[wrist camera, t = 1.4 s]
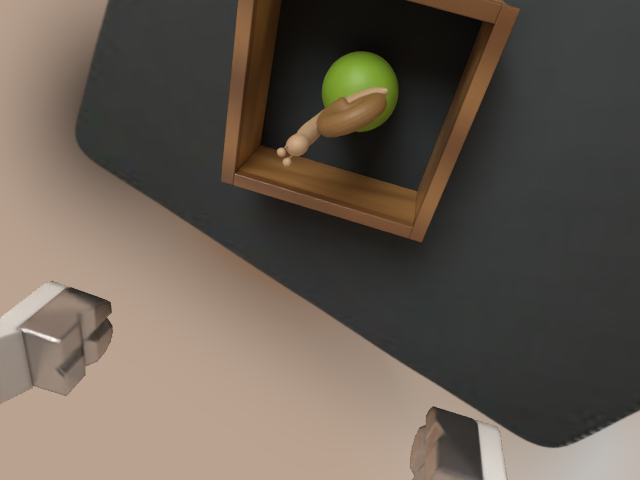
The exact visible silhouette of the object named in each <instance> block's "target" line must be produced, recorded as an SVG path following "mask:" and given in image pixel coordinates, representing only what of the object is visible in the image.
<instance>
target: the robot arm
mask: <svg viewBox="0 0 640 480" xmlns="http://www.w3.org/2000/svg"><path fill="white" fill-rule="evenodd" d="M111 312H112V311H111V302H109V301H107V300H105V299H102V298H100V297H97V296H94V295H91V294H88V293H85V292H83V291H80V290H77V289H74V288H71V287H68V286H65V285H62V284H59V283H57V282H54V281H51V282H47V283H45V284H43V285H42V286H41V287H39V288H38V289H37V290H35V291H34V292H33V293H32V294H30V295H29V296H28V297H26V298H25V299H24V300H22V301H21V302H20V303H19V304H17V305H16V306H15V307H14V308H12V309H11V310H9V311H8V312H7V313H6V314H4V315H3V316H2V317H1V318H0V404H1V403H3V402H5V401H7V400H9V399H11V398H13V397H15V396H17V395H19V394H21V393H23V392H25V391H27V390H29V389H31V388H33V386H35V387H39V388H42V389H45V390H48V391H51V392H55V393H58V394H61V395H64V396H67V395H68V394H69V393H70V392H71V390H72V389H73V388H74V387H75V386H76V385H77V384H78V383H79V381H81V379H82V378H83V377H84V376H85V367H86V366H87V365H90V364H92V363H94V362H97V361H98V360H99V359H100V358H101V357H102V355H103V354H104V353H105V351H106V350H107V348H108V346H109V344H110V342H111V338H112V333H113V329H112V324H111V323H110V321H109V320H108V319H107V317H108V316H109V315H110V314H111ZM410 458H411V459H410V468H411V470H412V472H413V474H414V478H413V480H507V474H506V468H505V461H504V455H503V449H502V443H501V436H500V431H499V429H498V428H497V427H496V426H493V425H489V424H487V423H483V422H481V421H477V420H474V419H472V418H469V417H466V416H462V415H459V414H456V413H453V412H449V411H446V410H443V409H440V408H437V407H434V406H433V407H432V408H431V409H430V410H429V411H428V413H427V415H426V425H425V426H422V427H420V428H419V430H418V432H417V434H416V436H415V439H414V442H413V446H412V450H411V457H410Z"/></svg>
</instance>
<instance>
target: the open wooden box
mask: <svg viewBox="0 0 640 480" xmlns="http://www.w3.org/2000/svg"><path fill="white" fill-rule="evenodd" d="M281 1H282V0H238V10H237V20H236V31H235V41H234V52H233V62H232V72H231V83H230V93H229V103H228V114H227V124H226V135H225V145H224V155H223V166H222V176H221V181H222V182H225V183H229V184H232V185H235V186H238V187H241V188H245V189H248V190H251V191H254V192H258V193H261V194H264V195H268V196H271V197H274V198H277V199H281V200H284V201H287V202H291V203H294V204H297V205H300V206H304V207H307V208H310V209H314V210H317V211H320V212H323V213H327V214H330V215H333V216H337V217H340V218H343V219H346V220H350V221H353V222H356V223H360V224H363V225H366V226H369V227H373V228H376V229H379V230H383V231H386V232H389V233H392V234H396V235H399V236H402V237H405V238H409V239H412V240H415V241H419V242H422V241H423V238H424V236H425V233H426V231H427V229H428V226H429V224H430V222H431V219H432V217H433V215H434V212H435V210H436V208H437V205H438V203H439V200H440V198H441V196H442V193H443V191H444V189H445V186H446V184H447V182H448V179H449V177H450V175H451V172H452V170H453V167H454V165H455V163H456V160H457V158H458V156H459V153H460V151H461V149H462V146H463V144H464V142H465V139H466V137H467V134H468V132H469V130H470V127H471V125H472V123H473V120H474V118H475V116H476V113H477V111H478V109H479V106H480V104H481V101H482V99H483V97H484V94H485V92H486V90H487V87H488V85H489V83H490V80H491V78H492V76H493V73H494V71H495V68H496V66H497V64H498V61H499V59H500V57H501V54H502V52H503V50H504V47H505V45H506V43H507V40H508V38H509V35H510V33H511V31H512V28H513V26H514V24H515V21H516V19H517V17H518V14H519V12H520V9H519V8H517V7H513V6H510V5H508V4H507V3H505V2H504V1H502V0H407V1H411V2H414V3H418V4H422V5H426V6H429V7H433V8H437V9H440V10H444V11H448V12H452V13H455V14H459V15H463V16H466V17H470V18H474V19H478V20H481V21H483V22H482V25H481V27H480V30H479V33H478V35H477V38H476V40H475V43H474V46H473V48H472V51H471V53H470V56H469V58H468V61H467V64H466V66H465V69H464V71H463V74H462V77H461V79H460V82H459V84H458V87H457V90H456V92H455V95H454V97H453V100H452V103H451V105H450V108H449V110H448V113H447V115H446V118H445V121H444V123H443V126H442V128H441V131H440V134H439V136H438V139H437V141H436V144H435V147H434V149H433V152H432V154H431V157H430V160H429V162H428V165H427V167H426V170H425V173H424V175H423V178H422V180H421V183H420V185H419V188H418V191H414V190H411V189H407V188H404V187H400V186H397V185H394V184H390V183H387V182H384V181H380V180H377V179H374V178H370V177H367V176H363V175H360V174H357V173H353V172H350V171H347V170H343V169H340V168H336V167H333V166H330V165H326V164H323V163H320V162H316V161H313V160H310V159H306V158H303V157H299V156H292V157H291V158H290V159H291V161H292V164H291V166H289V167H285V166H284V164H283V159H284V158H289V157H290V156H291V155H290V154H289V153H286V155H285V156H284V157H280V156H279V155H278V154H277V150H276V149H273V148H269V147H266V146H262V145H261V138H262V131H263V124H264V118H265V111H266V104H267V97H268V90H269V83H270V76H271V70H272V63H273V56H274V49H275V42H276V35H277V28H278V22H279V15H280V8H281Z"/></svg>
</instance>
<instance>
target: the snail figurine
mask: <svg viewBox="0 0 640 480" xmlns="http://www.w3.org/2000/svg"><path fill="white" fill-rule="evenodd" d="M398 93H399V87H398V81H397V77H396V75H395V72H394V71H393V69H392V67H391V66H390V65H389V63H388V62H387V61H386V60H384V59H383V58H382V57H380V56H378V55H376V54H374V53H371V52H365V51H357V52H352V53H349V54H346V55H344V56H342V57H341V58H339V59H338V60H337V61H336V62H334V63H333V65H332V66H331V67H330V68H329V70H328V72H327V73H326V76H325V78H324V81H323V86H322V100H323V104H324V107H325V109H324V110H322V111H321V112H320V113H318V114H317V115H316V116H315V117H313V118H312V119H310V120H309V121H308V122H306V123H305V124H304V125H303V126H302V127H301V128H300V129H299V130H298V132H297V133H296V134H295V135H293V136H291V137H290V138H289V139H288V140H287V142H286V146H285V147H284V148H279V149H278V150H277V154H278V155H279V156H280V157H284V156H285V155H286V150H287V152H288V153H289V154H290V155H291V156H290V157H289V158H284V159H283V164H284V166H285V167H289V166H291V164H292V161H291V159H290V158H291V157H292V156H300V155H303V154H304V153H305V152H306V151H307V150H308V147H309V146H310V145H311V144H312V143H314V142H315V141H316V140H317V139H318V138H319V137H320V135H323V136H325V137H338V136H342V135H347V134H350V133H352V132H364V131H369V130H372V129H374V128H376V127H378V126H380V125H381V124H383V123H384V122H385V121H386V120H387V119H388V118H389V117H390V115H391V114H392V112H393V111H394V109H395V106H396V104H397V100H398ZM285 148H286V150H285Z"/></svg>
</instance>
